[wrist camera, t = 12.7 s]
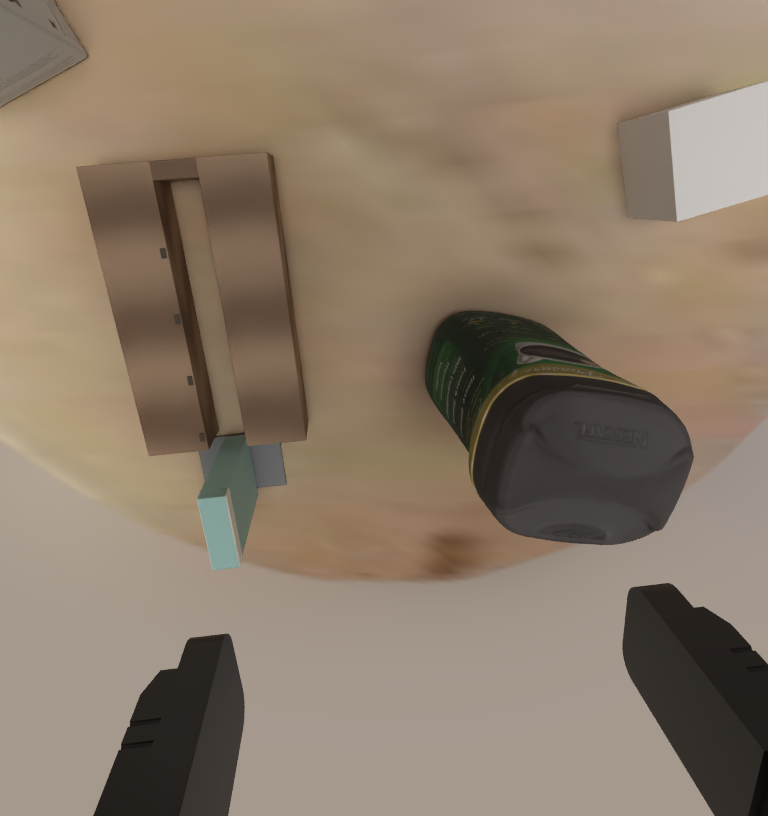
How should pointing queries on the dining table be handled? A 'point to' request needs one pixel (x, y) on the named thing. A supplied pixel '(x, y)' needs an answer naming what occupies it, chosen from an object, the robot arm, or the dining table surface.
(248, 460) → the stub
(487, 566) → the dining table surface
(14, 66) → the supplement box
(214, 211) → the wooden slotted block
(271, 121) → the dining table surface
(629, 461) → the coffee jar
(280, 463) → the mat
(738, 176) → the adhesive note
